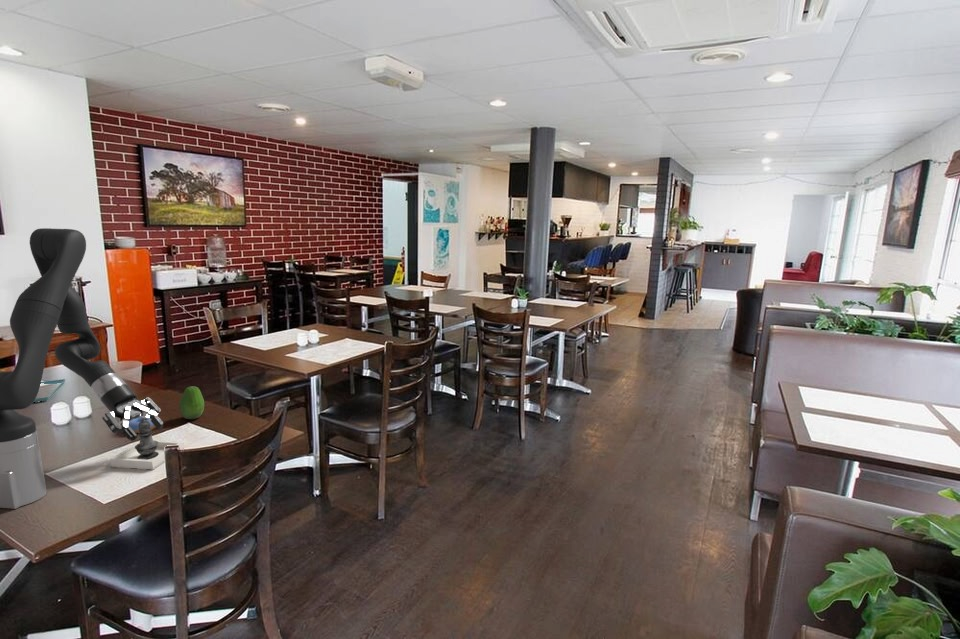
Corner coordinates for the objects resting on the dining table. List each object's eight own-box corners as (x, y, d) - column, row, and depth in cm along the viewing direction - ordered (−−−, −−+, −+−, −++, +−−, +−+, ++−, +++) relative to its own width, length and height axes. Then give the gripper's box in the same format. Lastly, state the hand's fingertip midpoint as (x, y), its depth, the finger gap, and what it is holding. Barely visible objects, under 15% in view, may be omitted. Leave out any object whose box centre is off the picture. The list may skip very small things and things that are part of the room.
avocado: (209, 417, 179) (206, 385, 176) (186, 424, 172) (183, 391, 170) (199, 412, 183) (196, 381, 181) (176, 418, 177) (172, 386, 175)
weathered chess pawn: (148, 461, 144) (143, 422, 142) (131, 459, 145) (126, 420, 143) (164, 452, 150) (160, 415, 148) (148, 450, 151) (143, 413, 149)
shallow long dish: (39, 386, 210) (38, 380, 210) (66, 383, 214) (65, 378, 214) (18, 406, 187) (17, 400, 187) (49, 402, 192) (48, 396, 191)
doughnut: (133, 437, 161) (132, 423, 161) (117, 432, 166) (116, 418, 166) (164, 429, 170) (164, 416, 170) (148, 424, 175) (148, 412, 175)
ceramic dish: (153, 469, 141) (152, 461, 140) (110, 467, 142) (109, 459, 142) (184, 449, 154) (183, 442, 153) (144, 447, 155) (144, 439, 154)
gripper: (95, 391, 139) (132, 435, 138) (141, 377, 152) (175, 416, 152) (83, 407, 141) (119, 450, 140) (130, 391, 155) (163, 430, 154)
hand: (148, 432), depth 146 cm, fingers open, 8 cm apart
